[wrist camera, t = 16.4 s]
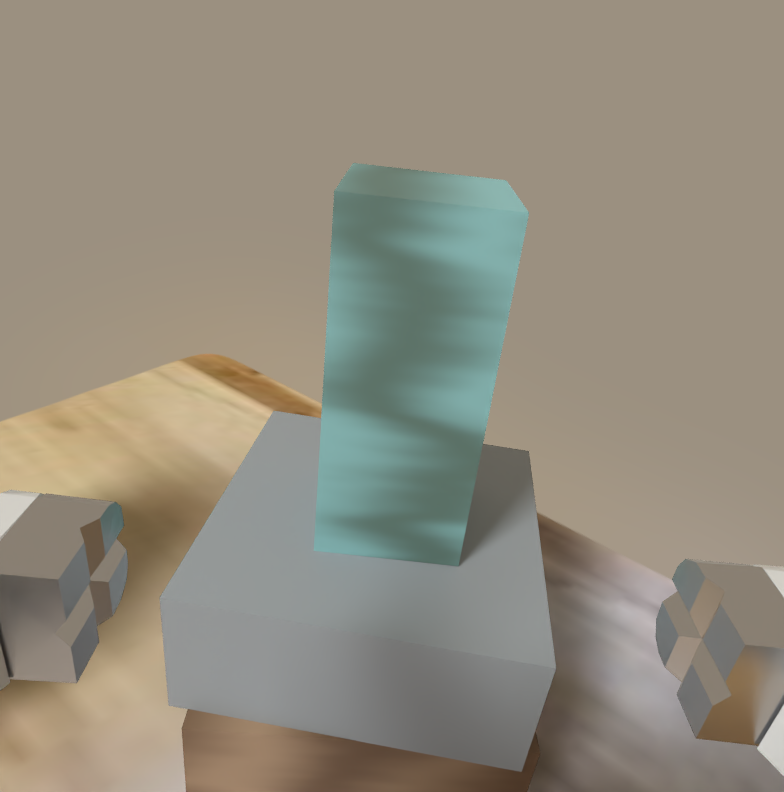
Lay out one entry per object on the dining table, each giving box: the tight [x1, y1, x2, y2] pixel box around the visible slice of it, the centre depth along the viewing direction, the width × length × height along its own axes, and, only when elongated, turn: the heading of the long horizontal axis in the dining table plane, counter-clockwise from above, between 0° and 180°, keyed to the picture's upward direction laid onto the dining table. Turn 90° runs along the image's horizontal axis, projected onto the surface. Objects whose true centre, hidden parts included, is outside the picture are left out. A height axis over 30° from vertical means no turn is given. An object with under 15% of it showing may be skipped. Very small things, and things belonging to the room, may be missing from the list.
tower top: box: [160, 411, 556, 772], centre depth 25 cm, size 12×12×5 cm
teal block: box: [314, 163, 529, 566], centre depth 21 cm, size 5×5×12 cm
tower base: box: [182, 709, 540, 792], centre depth 28 cm, size 12×12×5 cm
